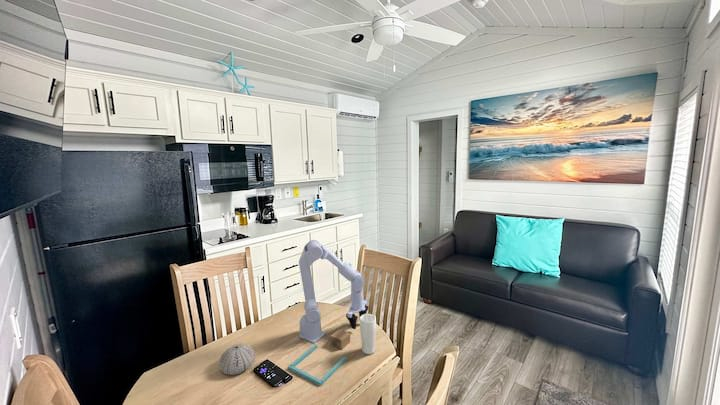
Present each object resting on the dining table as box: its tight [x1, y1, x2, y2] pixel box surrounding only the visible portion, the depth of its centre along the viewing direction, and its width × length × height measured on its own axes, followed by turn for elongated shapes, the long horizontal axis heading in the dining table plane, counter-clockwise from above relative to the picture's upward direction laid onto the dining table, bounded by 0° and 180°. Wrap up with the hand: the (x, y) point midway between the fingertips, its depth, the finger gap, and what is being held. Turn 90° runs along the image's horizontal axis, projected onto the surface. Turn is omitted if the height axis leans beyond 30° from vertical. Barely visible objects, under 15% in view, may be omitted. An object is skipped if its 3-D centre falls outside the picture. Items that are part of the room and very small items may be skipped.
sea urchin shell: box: [218, 343, 256, 376], centre depth 116 cm, size 13×14×8 cm
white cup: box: [359, 313, 377, 355], centre depth 122 cm, size 7×7×15 cm
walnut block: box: [330, 328, 351, 350], centre depth 128 cm, size 6×6×4 cm
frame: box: [287, 343, 347, 387], centre depth 116 cm, size 16×16×1 cm
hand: (357, 324), depth 140 cm, fingers open, 7 cm apart
